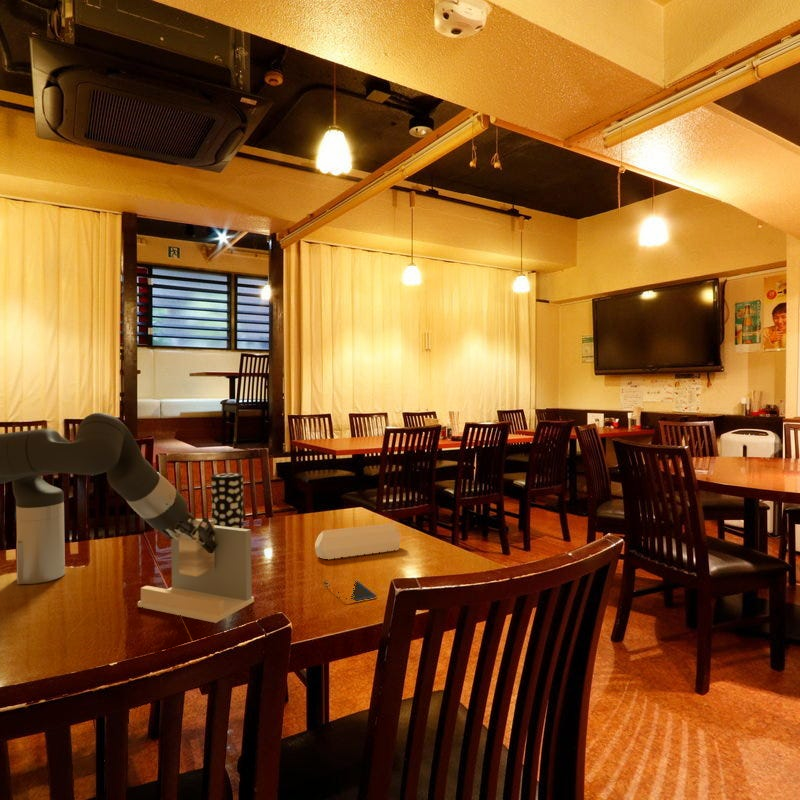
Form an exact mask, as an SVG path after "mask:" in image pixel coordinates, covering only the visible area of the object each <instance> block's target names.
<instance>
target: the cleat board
mask: <svg viewBox="0 0 800 800" xmlns="http://www.w3.org/2000/svg"><path fill="white" fill-rule="evenodd" d="M214 531H215V533H216V534H215V535H214V541H215V542H216V543H217V547H216V549H215V551H214V563H215V569H214V570H211V571H209V572H207V573H204V574H202V575H199V576H197V577H195V576H189V575H183V574H179V542H178V541H177V540H176V539H175V538H173V539H170V541H171V545H170V546H171V551H170V552H171V557H170V558H171V587H169V588H161V587H156V586H153V585H152V586H150V585H144V586H142V587H140V599H139V601H137V607H138V608H142V607H143V608H142V609H148V610H151V611H152V610H153V611H158V612H163V613H167V614H172V615H177V616H180V615H181V616H180V617H186V618H191V619H196V620H200V621H204V622H209V623H214V624H217V623H218V622H221V621H222V620H224V619H225V618H228V617H229V616H232V615H233V614H235V613H236V612H238V611H240V610H241V609H243V608H246V607H247V606H249V605H251V604H252V603H254V602H255V597H254V596H252V595H253V594H252V529H249V528H243V529H242V528H233V527H225V526H217V525H214Z"/></svg>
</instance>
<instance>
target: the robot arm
mask: <svg viewBox="0 0 800 800" xmlns="http://www.w3.org/2000/svg"><path fill="white" fill-rule="evenodd" d="M104 473H106V479H107V481H108V485H110V487H111V488H113V490H114V491H116V493H117V494H119V496H120V497H122V498H123V499H124V500H125V501H126V502H127V504H128V505H129V507H131V509H133V511H134V512H136V514H137V515H139V516H140V517H141V518H142V519H143V520H144V521H145V523H147V524H148V525H149V526H150V527H151V528H153V529H154V530H156V531H158V532H160V533H161V534H162V535H163V536H165V537H166V538H167V539H169V540H171V539H173V538H175V539H176V540H177V541H178V542H179V539H180V534H182V535H184V536H185V537H187V538H188V539H189V540H195V541H197V542H198V543H199V544H200V545H201V546H202V547H203V548H204V549H205V550H206V551H207V552H208V553H213V552H214V551H215V549H216V547H217V543H216V542H215V541H214V540H213V539H212V538H213V537H214V535H215V534H216V533H215V531H214V529H213V527H212V525H211V524H210V522H209V520H210V519H208V518H205V517H204V518H202V519H203V520H202V521H198V520H196V519H197V518H196V517H195V516H194V515H193V514H192V513H191V512H188V507H189V506H188V502H187V499H186V498H185V497H184V496H183V495H182V494H181V493H180V492H179V491H178V490H177V488H175V487H174V486H173V484H172V483H171V482H170V481H169V480H168V479H167V478H166V477H164V476H163V475H162V474H161V473H159V471H158V470H156V468H155V467H154V466H153V465H152V464H151V463H150V462H149V461H148V460H147V459H146V458H145V456H144V455H143V453H142V451H141V449H140V446H139V444H138V443H137V441H136V439H135V438H134V435H133V434H132V433H131V431H130V430H129V428H128V426H126V425H125V424H124V422H122V420H120V419H119V418H117V417H116V416H114V415H112V414H109V413H105V412H94V413H91V414H89V415H86V416H85V417H84V418H83V419H82V420H81V422H80V424H79V426H78V429H77V432H76V435H75V438H74V440H73V441H71V442H70V441H69V440H68V439H67V438H66V437H64V436H62V435H61V434H60V433H59V432H58V431H57V430H55V429H52V428H40V429H39V428H38V429H29V430H23V431H22V430H21V431H15V432H7V433H6V432H4V433H0V485H2V484H6V483H11V482H12V493H13V496H14V498H15V504H16V505H15V506H16V507H15V508H16V511H15V512H16V584H17V585H24V584H25V585H26V584H27V585H30V584H31V585H32V584H41V583H46V582H47V583H48V582H51V581H53V580H57V579H59V578H63V576H64V575H65V573H66V559H65V558H66V557H65V556H66V553H65V552H66V550H65V549H66V548H65V545H66V544H65V503H64V501H65V497H64V496H65V494H64V491H63V490H62V489H61V488H59V487H57V486H54V485H51V484H50V483H48V482H47V481H46V480H45V479H43V477H42V475H47V476H48V475H56V474H73V475H81V476H83V475H84V476H95V475H100V474H104ZM195 527H196V528H197V529H196V530H194V528H195ZM193 530H194V531H193ZM192 531H193V533H192ZM190 533H192V535H191V534H190ZM198 535H200V536H201V539H200V538H199V537H198Z"/></svg>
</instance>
